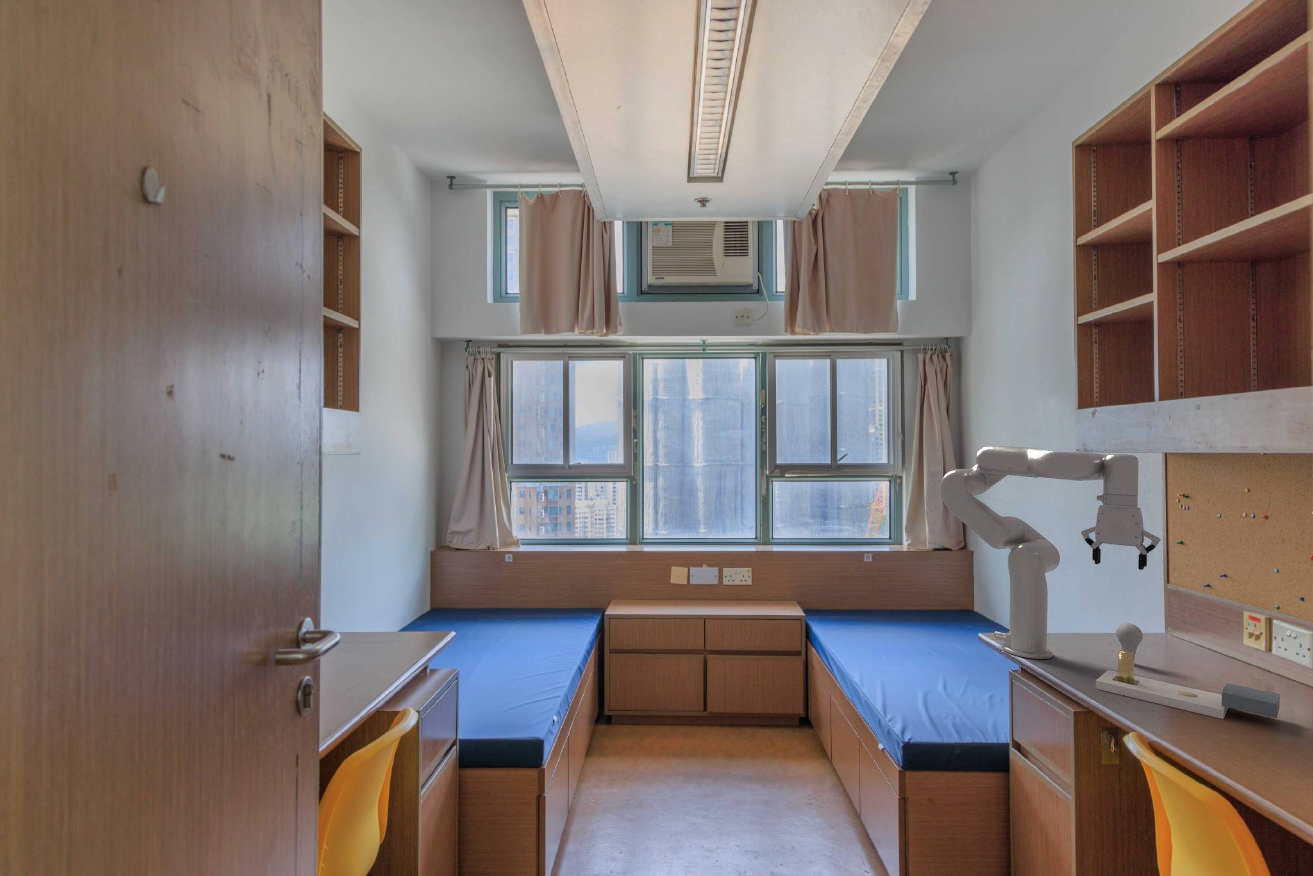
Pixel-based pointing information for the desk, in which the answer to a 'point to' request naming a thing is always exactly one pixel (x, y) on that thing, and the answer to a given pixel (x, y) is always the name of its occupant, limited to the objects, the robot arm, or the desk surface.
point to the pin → (1126, 667)
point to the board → (1165, 694)
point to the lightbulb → (1129, 636)
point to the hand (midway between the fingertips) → (1118, 566)
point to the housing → (1251, 700)
